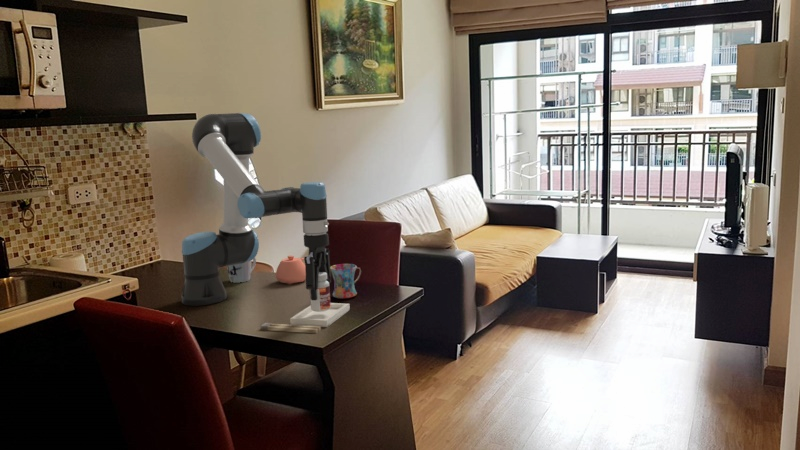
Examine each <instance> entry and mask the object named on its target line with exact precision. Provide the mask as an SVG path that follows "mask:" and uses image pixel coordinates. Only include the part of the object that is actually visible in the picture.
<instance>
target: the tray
mask: <svg viewBox="0 0 800 450" xmlns="http://www.w3.org/2000/svg"><path fill="white" fill-rule="evenodd" d="M330 304H331V308H330V309H329V310H327V311H322V312H315V311H312V310H311V304H310V305H309V306H307V307H305V308H304V309H303V310H301V311H299V312H297V313H296V314H295V315H293V316H292V317H290V318H289V320H290V325H304V326H321V328H329V326H331V325H332V324H333V323H334V322H336V321H337V320H339V319H340V318H341V317H343V316H344V315H345V314H347V313H348V312H349V311H351V308H350V305H351V304H350V303H342V302H341V303H340V302H339V303H338V302H330Z"/></svg>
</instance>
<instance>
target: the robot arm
mask: <svg viewBox="0 0 800 450" xmlns="http://www.w3.org/2000/svg"><path fill="white" fill-rule="evenodd" d="M191 138H192V144H193V146H194V148H195V150H196V151H197V153H198V154H199V155H200V156H201V157H203V158H206V159H207V160H208V162H210V164H211V165H212V166H213V167H214V169H215V170H216V171H217V173H218V174H219V175H220V176H221V178H222V179H223V203H222V204H223V207H222V209H223V214H222V215H223V217H222V218H223V223H221V224H220V225H219V227H218V234H217V233H216V232H215V231H203V232H197V233H196V232H195V233H194V234H193V233H192V234H190V235H188V236H186V237H185V238H184V239H182V241H181V254H182V261H183V270H184V271H183V273H184V284H183V288H182V293H181V303H182V304H183V305H185V306H194V307H195V306H198V307H199V306H206V305H207V306H208V305H213V304H217V303H220V302H223V301H225V300H226V299H227V298H228V296H227V290H226V289H225V286H224V284H223V281H222V279H221V277H220V276H221V275H220V268H223V267H227V266H229V265H234V264H242V263H245V262H248V261H251V262H252V261H253V258H256V256H257V255H258V252H259V248H260V240H259V238H258V234H257V233H256V232H255V230H253V226H252V225H251V224H250V223H249V219H259V218H264V217H270V216H276V215H284V214H290V213H291V214H292V213H301V215H302V217H301V218H302V232H303V233H304V235H303V246H304V247H305V248H307V249H308V256H304V257H303V258H304V260H303V261H304V264H305V271H306V279H305V288H306V290H307V291H308V290H309V297H310V296H311V303H310V305H311V310H321V309H320V293H319V289H318V276H319V272H326V273H327V279H326V281H328V282H329V284H331V283H332V272H331V269H330V267H331V260H330V259H331V258H330V248H326V247H327V246H329V245H330V240H329V238H330V237H329V233H328V232H329V227H328V226H329V225H330V223H329V221H328V207H327V206H328V204H327V192H326V184H324V182H321V181H311V182H310V181H309V182H303V183H301V184H300V188H298V187H293V186H289V187H282V188H281V189H276V190H274V189H273V190H265V189H264V188H263V187H262V186H261V185H260V184H259V182H258V181H257V180H256V179H255V178H254V176H253V175H252V174H251V173H250V158H251V157H252V156H253V154H254V152H255V151H254V149H255V148H256V147H257V146H259V145H260V143H261V139H262V131H261V128H260V125H259V122H258V121H257V119H256V118H255V116H254V115H252V114H249V113H244V112H243V113H241V112H235V113H234V112H233V113H232V112H231V113H230V112H229V113H208V114H206V115H204V116H202V117H200V118H199V119H198V120H197V121H196V123H195V124H194V126H193V129H192V133H191Z"/></svg>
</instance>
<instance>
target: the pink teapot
mask: <svg viewBox="0 0 800 450" xmlns="http://www.w3.org/2000/svg"><path fill="white" fill-rule="evenodd" d="M303 261H304V257H302V258H299V257H295V255H287V258H284V259H281V260H280V262H279V264H278V265H277V268H276V270H275V278H276V280H277V281H278V282H280V283H281V284H287V285H290V286H291V285H293V284H296V283H303V282H304V281H306V271H305V262H303Z"/></svg>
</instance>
